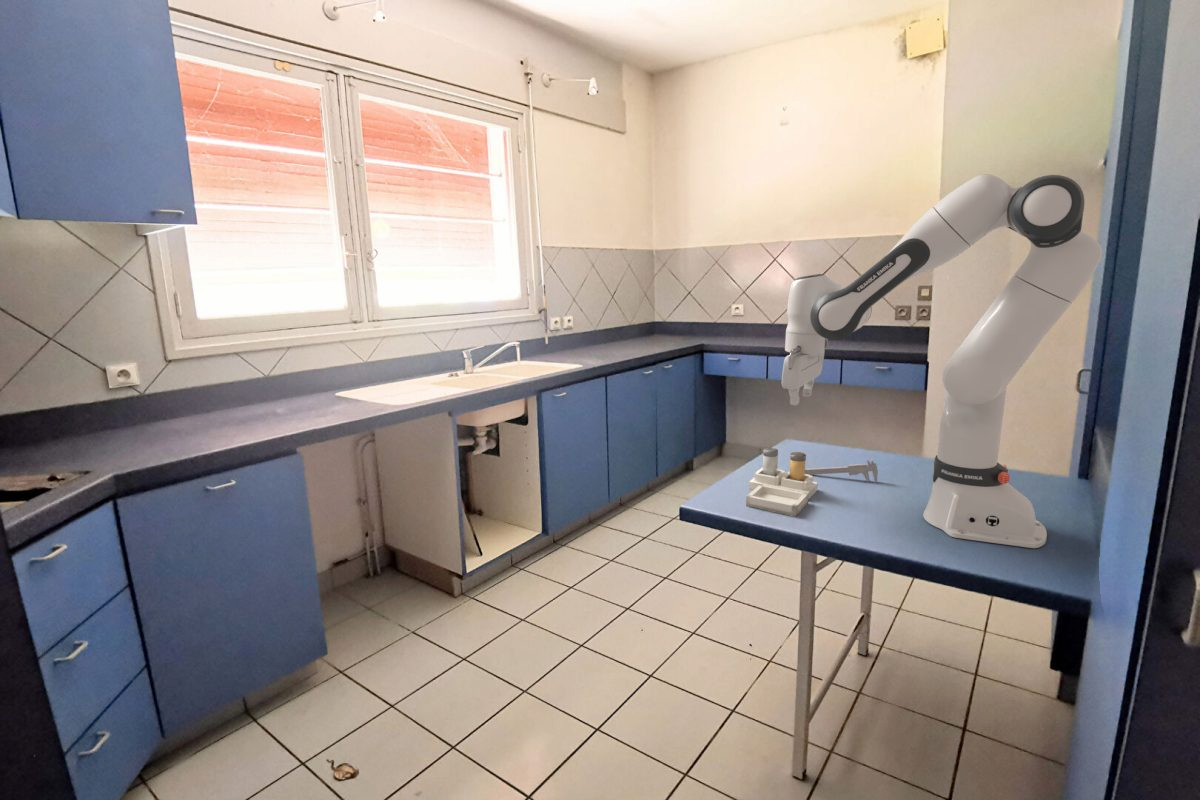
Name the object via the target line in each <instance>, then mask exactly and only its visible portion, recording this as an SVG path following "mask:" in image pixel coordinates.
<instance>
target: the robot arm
mask: <svg viewBox="0 0 1200 800" xmlns="http://www.w3.org/2000/svg"><path fill="white" fill-rule="evenodd" d="M1084 210H1085V195H1084V192H1083V189H1082V187H1081V186H1080V185H1079V184H1078V183H1077V182H1076V181H1075V180H1073V179H1072V178H1070V177H1068V176H1065V175H1060V174H1047V175H1043V176H1040V177H1036V178H1034V179H1032V180H1031V181H1028V182H1027V183H1026V184H1024V185H1022V186H1020V187H1019V186H1017V187H1014V186H1011V185H1009V184H1008V183H1006V182H1005V180H1003V179H1002V178H1000V177H998V176H996V175H993V174H979V175H977V176H974V177H973V178H971V179H969V180H968V181H965V182H964V183H963V184H961V185H959V186H957V187H956V188H955V189H954V190H952V191H951V192H950V193H949V192H948V194H946V195H945V196H944V197H943V198H941V199H940V200H939V201H938V202H936V203H935V204H934V205H933V206H931V208H929V209H928V210H927V211H926V212H925V213H923V214H922V215H921V217H919V218H918V219H917V221H915V222H914V223H913V225H912V226H911V227H910V228H909V229H908V230H907V231H906V232H905V234H904V235H903V236H902V237H901V238H900V239H899V240H898V242H897V243H896V244H895V245H894V246H893V247H892V248H891V250H890V251H888V253H886V255H884V256H883V257H882V258H881V259H880V260H879V261H878V262H876V263H875V264H874V265H872V266H871V267H870V268H869V269H868V270H866V271H865V272H864V273H863V274H861V275H860V276H859V277H858V278H857V279H855V280H854V281H853V282H851V283H850V284H849V285H847V286H844V285H841V284H839V283H837V282H835V281H833V280H832V279H831V278H829V277H828V276H827V275H826V274H823V273H817V274H816V273H815V274H811V275H805V276H800V277H798V278H795V279H794V280H793V281H792V283H791V284H790V288H789V291H788V296H787V297H788V299H787V309H786V316H787V319H788V321H787V326H786V329H785V338H784V340H785V341H784V343H785V344H784V351H785V352H786V353H789V355H786V356H785V358H784V360H783V364H782V365H783V366H782V373H781V387H782V389H784V390H785V389H786V390H788V395H789V404H790V405H791V406H797V405H799V404H800V399H801V398H800V395H799V393H800V388H802V387H803V389H802V397H804V398H805V397H806V398H809V397H811V396H812V392H813V391H812V389H813V387H814V384H815V379H816V378H818V377H820V376H821V374H822V372H823V365H824V358H825V349H826V348H828V343H829V341H828V340H830V341H840V340H843V339H845V338H847V337H849V336H851V335H852V333H854V332H856V331H857V330H859V329H861V328H862V327H863V326H865V325H866V324H867V323H868V321H869V319H871V315H872V310H873V309H872V308H873V307H872V306H874V305H875V304H876V303H878V302H879V301H880V300H882V299H883V298H884V297H885V296H887V295H888V294H889V293H891V292H892V291H894V290H895V289H896V288H897V287H898V286H900V285H901V284H903V283H904V282H906V281H907V280H909V279H911V278H913V277H916V276H918V275H920V274H921V275H922V274H923V273H926V272H928V271H932V270H935V269H937V268H938V267H940V266H943V265H944V264H947V263H948V262H950V261H952V260H953V259H955V258H956V257H957V258H958V256H959V255H961V254H963V253H964V252H965V251H967V250H968V249H969V248H971V247H972V246H973V245H976V243H977V242H978V241H980V240H981V239H982V238H984V237H985V236H986V235H988V234H989V233H991V232H993V231H995V230H997V229H1000V228H1003V227H1004V228H1008V229H1010V230H1012V231H1014V232H1015V233H1017V234H1019V235H1021V236H1022V237H1024V238H1026V239H1027V240H1028V241H1029V242H1030V250H1029V252H1028V255H1027V257H1026V258H1025V260H1024V261H1023V262H1022V264H1021V265H1020V266H1019V268H1018V269H1017V271H1015V273H1014V274H1013V275H1012V276H1011V278H1010V279H1009V280H1008V282H1007V283H1006V284H1005V286H1004V287H1003V289H1002V290H1001V291H1000V292H999V294H998V295H997V296H996V297H995V299H994V300H993V301H992V303H991V304H990V305H989V307H988V308H987V310H985V313H983V315H982V316H981V318H980V319H979V320H978V322H977V323H976V324H975V326H973V328H972V329H971V331H970V332H969V333H968V335H967V336H966V338H965V339H964V340H963V342H962V343H961V344H960V346H959V347H958V348H957V349H956V350H955V351H954V352H953V354H952V355H951V357H950V358H949V360H948V361H947V362H946V364H945V366H944V368H943V372H942V384H943V387H944V389H945V393H944V398H943V406H942V412H941V418H940V423H939V424H940V425H939V432H938V433H939V435H938V443H937V445H938V446H937V454H936V456H935V457H934V460H933V466H932V475H931V476H932V482H933V483H932V489H931V492H930V496H929V498H928V502H927V504H926V507H925V509H924V511H923V513H922V517H923V518H924V520H925V521H926V522H927V523H928V524H929V525H932V526H933V527H936V528H938V529H940V530H942V531H943V532H944V533H946V534H947V535H948V536H949V537H951V538H952V537H953V538H956V539H963V540H969V541H978V542H985V543H992V544H999V545H1007V546H1012V547H1013V546H1014V547H1021V548H1028V549H1037V548H1040V547H1043V546H1044V545H1045V544H1046V543H1047V537H1048V535H1047V534H1048V532H1047V529H1046V527H1045V526H1044V524H1043V523H1041V521H1038V520H1037V519H1036V513H1035V509H1034V506H1033V504H1032V502H1031V501H1030V500H1029V499H1028V498H1027V497H1026V496H1025V495H1023V493H1021V492H1020V491H1019V490H1017V489H1016V488H1015V487H1013V485H1011V484H1009V482H1010V477H1011V476H1010V474H1009V469H1008V468H1007V466H1006V464H1003V465H1002V464H1001V463H999V461H998V459H999V451H1000V443H1001V435H1002V426H1003V418H1004V411H1005V402H1006V395H1007V388H1008V387H1007V386H1008V385H1009V384H1010V382H1011V381H1012V380H1013V378H1014V377H1015V376H1016V375H1017V373H1018V372H1019V371H1020V370H1021V368H1022V367H1023V366H1024V365H1025V363H1026V362H1027V360H1028V359H1029V358H1030V356H1031V355H1032V354H1033V352H1034V351H1035V349H1036V348H1037V347H1038V346H1039V344H1040V343H1041V341H1042V340H1043V339H1044V338H1045V336H1046V335H1047V334H1048V333H1049V332H1050V331H1051V329H1052V328H1053V327H1054V326H1055V325H1056V323H1057V322H1058V321H1059V320H1060V319H1061V317H1062V316H1063V315H1064V314H1065V313H1066V311H1067V310H1068V309H1069V308H1070V306H1071V305H1072V304H1073V302H1074V301H1075V300H1076V299H1077V298H1078V296H1080V294H1081V292H1082V291H1083V290H1084V288H1085V287H1086V285H1087V284H1088V283H1089V281H1090V280H1091V278H1092V277H1093V275H1094V273H1095V271H1096V270H1097V268H1098V266H1099V264H1100V262H1101V260H1102V258H1103V249H1102V247H1101V245H1100V243H1099V242H1098V241H1097V240H1096V239H1095V238H1093V237H1092V236H1091V235H1088V234H1087V233H1085V232H1083V231H1082V226H1083V217H1084V212H1085V211H1084Z"/></svg>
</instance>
